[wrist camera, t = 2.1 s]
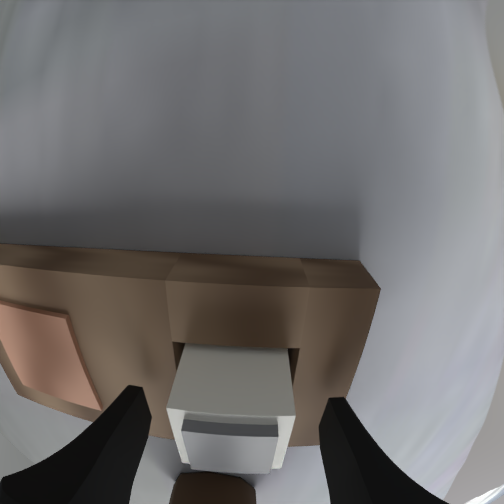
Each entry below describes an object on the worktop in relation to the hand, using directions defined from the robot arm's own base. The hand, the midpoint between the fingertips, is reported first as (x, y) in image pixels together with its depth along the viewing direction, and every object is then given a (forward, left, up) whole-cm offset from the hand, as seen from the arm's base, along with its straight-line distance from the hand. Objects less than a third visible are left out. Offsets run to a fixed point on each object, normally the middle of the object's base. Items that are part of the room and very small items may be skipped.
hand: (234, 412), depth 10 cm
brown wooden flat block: (-5, 0, -4) cm, 6 cm away
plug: (0, 0, -4) cm, 4 cm away
